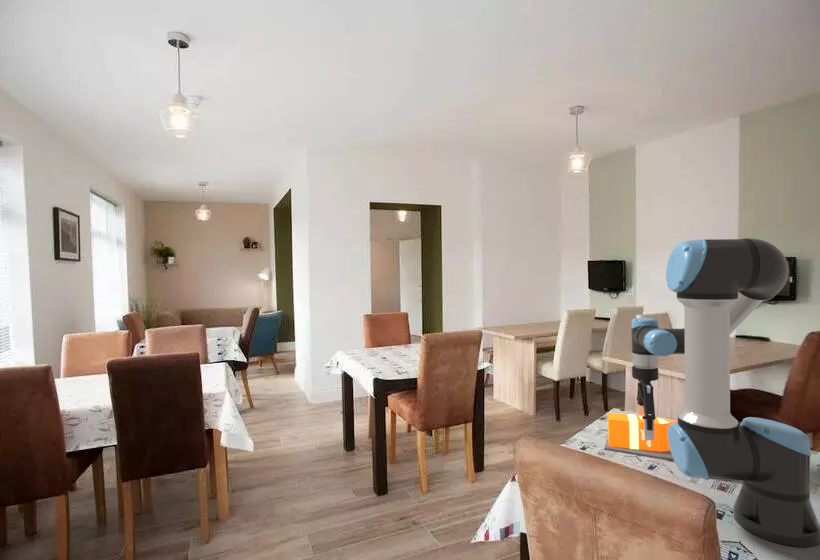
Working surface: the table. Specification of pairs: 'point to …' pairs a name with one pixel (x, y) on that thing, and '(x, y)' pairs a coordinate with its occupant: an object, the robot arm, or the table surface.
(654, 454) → the mat
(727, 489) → the table surface
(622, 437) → the orange juice
